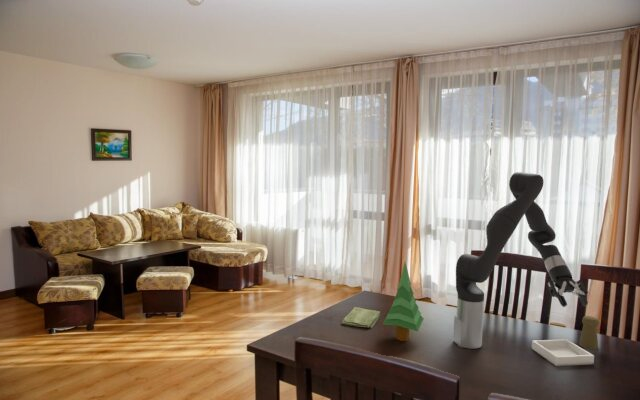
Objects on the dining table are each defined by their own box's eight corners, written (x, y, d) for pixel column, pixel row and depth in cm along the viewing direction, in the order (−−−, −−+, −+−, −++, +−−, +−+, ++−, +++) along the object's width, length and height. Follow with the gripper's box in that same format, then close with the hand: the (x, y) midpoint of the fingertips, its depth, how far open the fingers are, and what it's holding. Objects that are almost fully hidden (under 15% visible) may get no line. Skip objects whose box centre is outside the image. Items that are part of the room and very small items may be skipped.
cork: (601, 350, 160) (603, 320, 159) (582, 348, 161) (584, 319, 160) (594, 343, 166) (596, 314, 165) (576, 341, 167) (578, 313, 166)
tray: (556, 366, 147) (556, 357, 147) (531, 348, 160) (532, 340, 160) (593, 364, 149) (594, 355, 148) (566, 347, 162) (566, 339, 162)
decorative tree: (378, 342, 164) (380, 262, 161) (392, 328, 178) (394, 254, 175) (414, 350, 158) (417, 267, 155) (425, 335, 171) (428, 259, 169)
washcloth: (340, 326, 180) (340, 318, 180) (353, 312, 197) (353, 305, 196) (371, 331, 176) (371, 323, 175) (382, 316, 192) (382, 309, 192)
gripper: (546, 264, 177) (563, 301, 167) (578, 263, 179) (597, 300, 168) (537, 274, 183) (553, 310, 172) (568, 273, 184) (586, 309, 174)
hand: (575, 305), depth 170 cm, fingers open, 8 cm apart
